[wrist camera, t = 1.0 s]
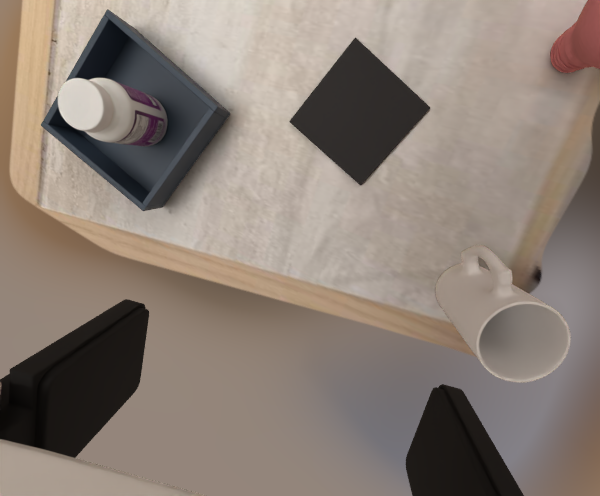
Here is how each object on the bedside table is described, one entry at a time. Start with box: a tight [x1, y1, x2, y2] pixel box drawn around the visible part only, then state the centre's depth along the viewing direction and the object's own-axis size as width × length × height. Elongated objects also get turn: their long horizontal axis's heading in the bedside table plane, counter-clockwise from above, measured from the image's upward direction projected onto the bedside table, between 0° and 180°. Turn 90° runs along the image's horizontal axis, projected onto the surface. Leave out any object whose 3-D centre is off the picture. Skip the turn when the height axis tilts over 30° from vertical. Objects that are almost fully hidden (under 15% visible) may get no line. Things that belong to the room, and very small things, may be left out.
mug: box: [435, 245, 571, 382], centre depth 31 cm, size 10×7×12 cm, turn 14°
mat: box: [290, 38, 430, 185], centre depth 34 cm, size 10×10×1 cm
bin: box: [41, 9, 230, 211], centre depth 35 cm, size 13×13×4 cm
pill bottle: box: [58, 78, 168, 146], centre depth 31 cm, size 5×5×10 cm
